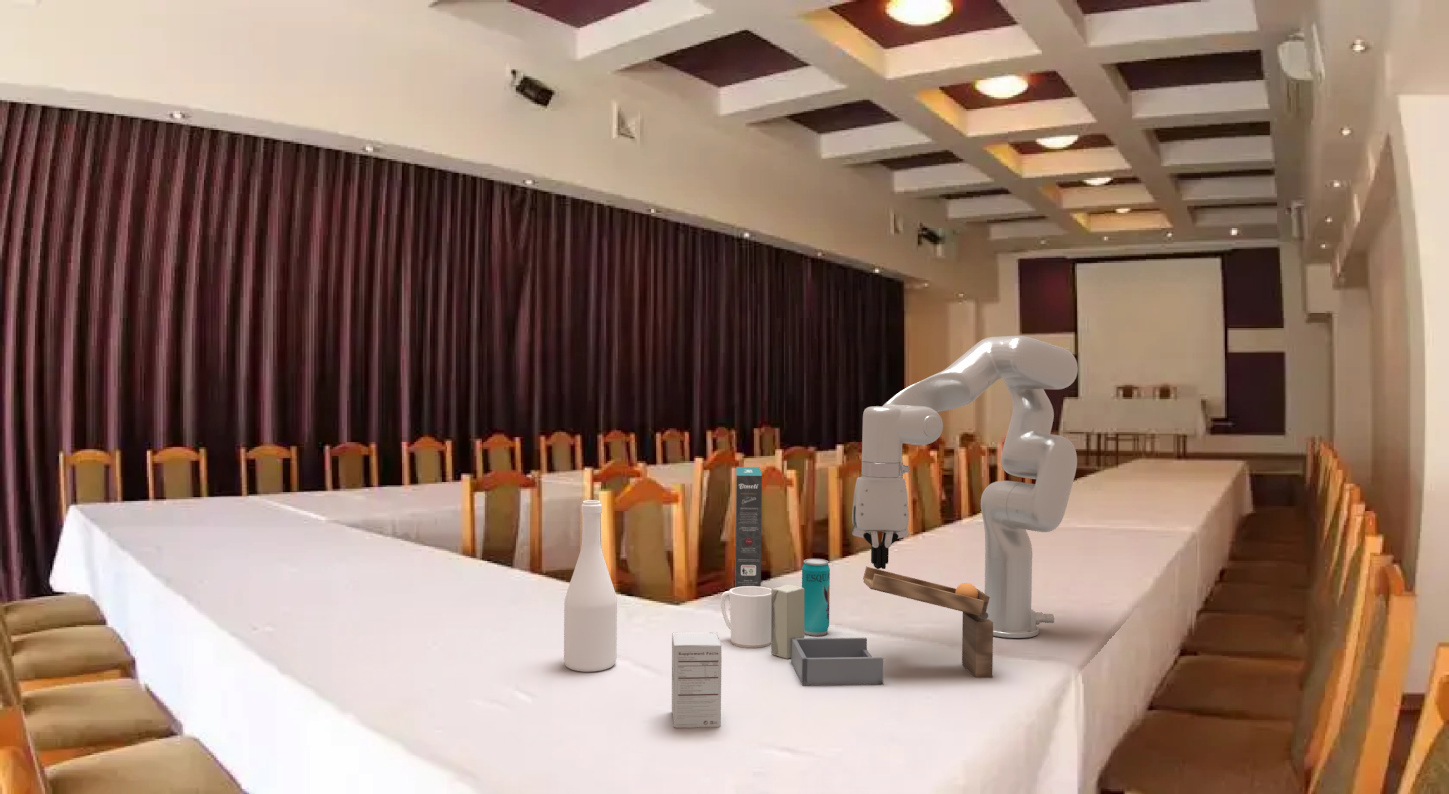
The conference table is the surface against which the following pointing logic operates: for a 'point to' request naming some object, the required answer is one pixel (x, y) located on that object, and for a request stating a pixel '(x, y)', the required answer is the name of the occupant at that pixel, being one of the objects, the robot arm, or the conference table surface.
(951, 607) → the lever
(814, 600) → the beverage can
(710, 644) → the supplement box
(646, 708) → the conference table surface
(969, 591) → the ball
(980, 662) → the post
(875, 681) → the tray
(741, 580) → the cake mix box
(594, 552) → the wine bottle
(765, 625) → the mug
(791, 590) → the box
